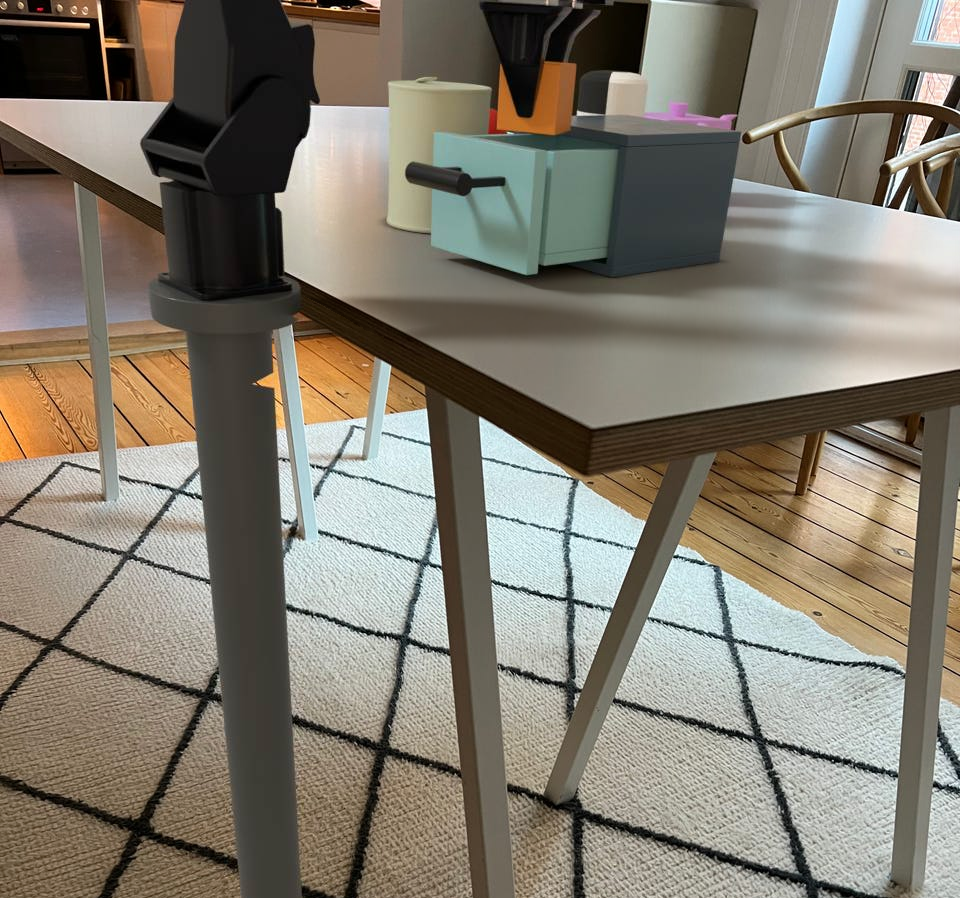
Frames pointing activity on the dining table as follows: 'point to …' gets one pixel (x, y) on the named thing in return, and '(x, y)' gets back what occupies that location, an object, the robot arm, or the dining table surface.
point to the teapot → (691, 117)
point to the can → (426, 138)
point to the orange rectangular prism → (541, 102)
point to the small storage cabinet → (662, 191)
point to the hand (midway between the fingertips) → (534, 115)
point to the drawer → (520, 198)
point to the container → (612, 93)
